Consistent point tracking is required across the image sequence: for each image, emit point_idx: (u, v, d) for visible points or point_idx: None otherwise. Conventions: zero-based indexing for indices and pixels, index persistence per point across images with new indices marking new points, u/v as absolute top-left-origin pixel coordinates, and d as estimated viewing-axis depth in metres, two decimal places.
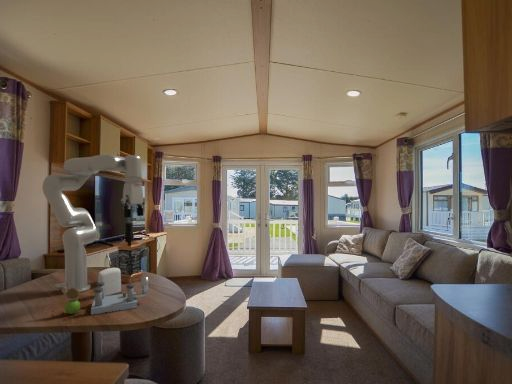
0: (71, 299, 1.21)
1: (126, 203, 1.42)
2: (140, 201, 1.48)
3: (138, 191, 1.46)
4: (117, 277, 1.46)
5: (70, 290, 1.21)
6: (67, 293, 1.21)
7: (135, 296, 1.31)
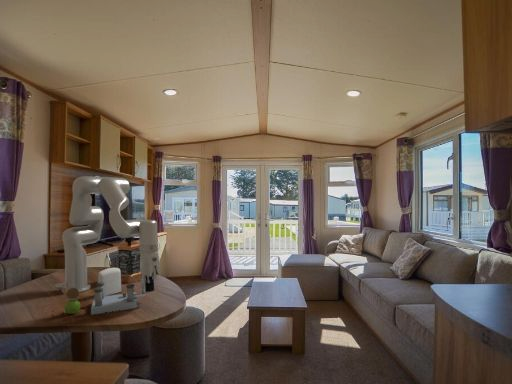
0: (71, 299, 1.21)
1: None
2: (147, 273, 1.27)
3: (143, 261, 1.29)
4: (117, 277, 1.46)
5: (70, 290, 1.21)
6: (67, 293, 1.21)
7: (135, 296, 1.31)
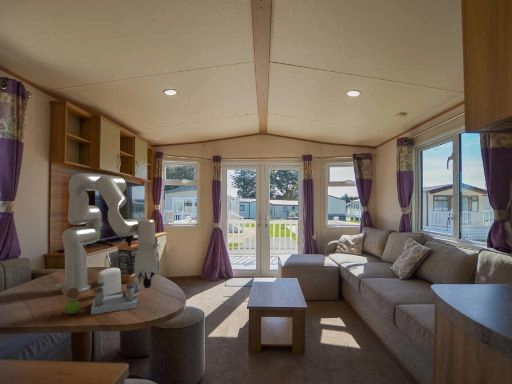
0: (71, 299, 1.21)
1: None
2: (150, 270, 1.35)
3: (145, 258, 1.34)
4: (117, 277, 1.46)
5: (70, 290, 1.21)
6: (67, 293, 1.21)
7: (135, 294, 1.33)
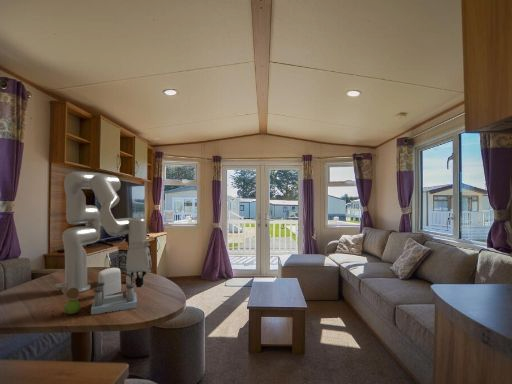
0: (71, 299, 1.21)
1: None
2: (142, 268, 1.34)
3: (136, 258, 1.34)
4: (117, 277, 1.46)
5: (70, 290, 1.21)
6: (67, 293, 1.21)
7: None
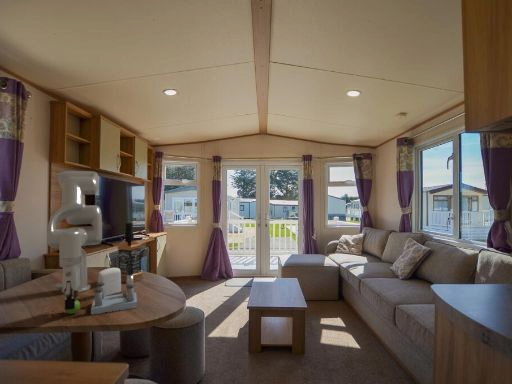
0: None
1: None
2: None
3: None
4: (117, 277, 1.46)
5: (70, 290, 1.21)
6: None
7: None
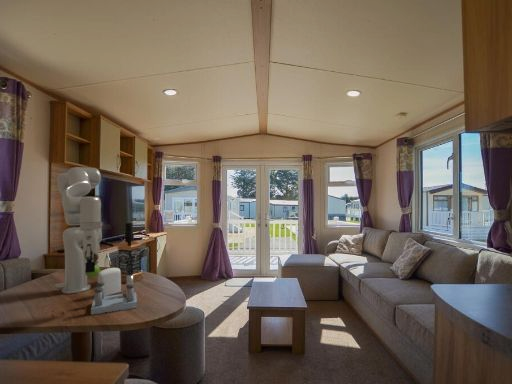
0: None
1: None
2: (84, 252, 1.23)
3: None
4: (117, 277, 1.46)
5: None
6: None
7: None
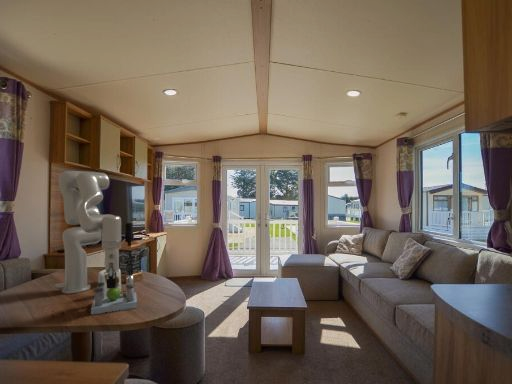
0: None
1: None
2: None
3: None
4: None
5: None
6: None
7: None
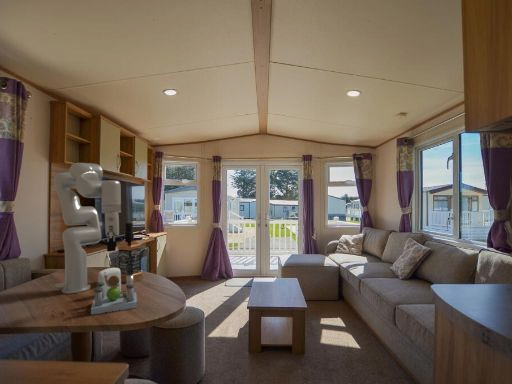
0: (112, 286, 1.29)
1: None
2: None
3: None
4: None
5: (111, 278, 1.29)
6: (108, 280, 1.29)
7: None
